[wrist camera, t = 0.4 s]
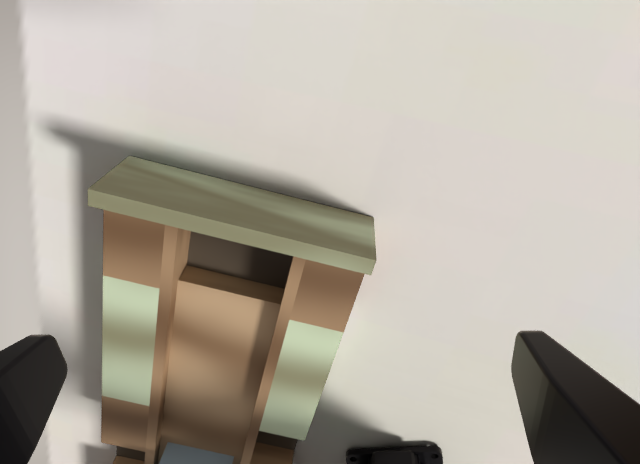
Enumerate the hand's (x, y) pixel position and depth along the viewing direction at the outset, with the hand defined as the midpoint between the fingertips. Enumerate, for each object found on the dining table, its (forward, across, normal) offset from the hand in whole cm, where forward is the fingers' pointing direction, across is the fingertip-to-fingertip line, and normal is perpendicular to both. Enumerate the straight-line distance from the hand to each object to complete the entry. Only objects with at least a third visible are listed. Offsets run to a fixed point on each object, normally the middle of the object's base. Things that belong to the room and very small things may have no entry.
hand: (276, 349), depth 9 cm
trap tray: (+14, +8, +17) cm, 24 cm away
